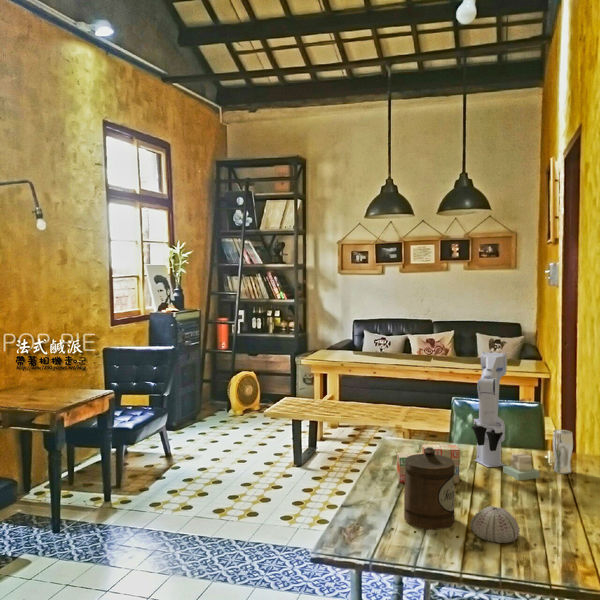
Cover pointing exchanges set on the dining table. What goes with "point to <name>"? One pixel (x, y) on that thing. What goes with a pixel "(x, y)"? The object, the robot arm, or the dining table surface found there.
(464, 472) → the dining table surface
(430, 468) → the wooden container
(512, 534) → the sea urchin shell
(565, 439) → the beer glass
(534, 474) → the green slab
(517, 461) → the ash cube
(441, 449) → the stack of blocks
